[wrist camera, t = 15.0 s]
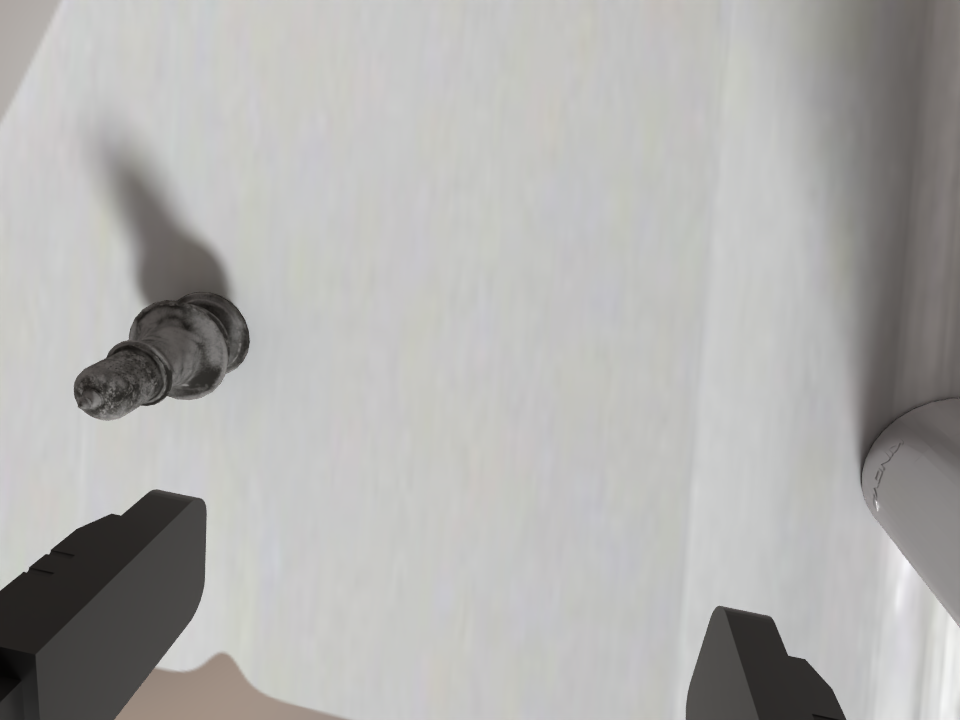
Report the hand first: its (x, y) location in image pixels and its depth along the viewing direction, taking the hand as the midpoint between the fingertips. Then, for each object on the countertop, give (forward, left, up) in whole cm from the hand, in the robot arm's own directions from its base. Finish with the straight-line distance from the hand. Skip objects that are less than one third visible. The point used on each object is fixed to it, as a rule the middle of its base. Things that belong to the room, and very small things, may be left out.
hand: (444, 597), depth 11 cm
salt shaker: (+19, +8, -30) cm, 37 cm away
